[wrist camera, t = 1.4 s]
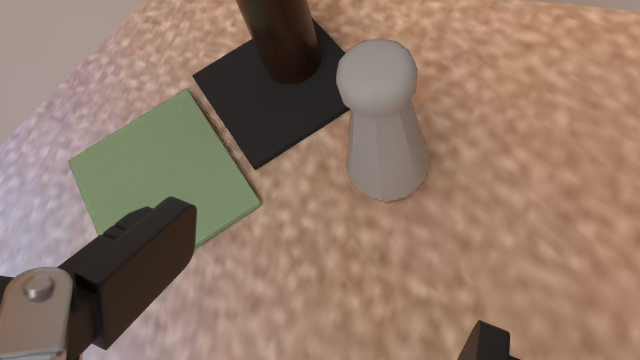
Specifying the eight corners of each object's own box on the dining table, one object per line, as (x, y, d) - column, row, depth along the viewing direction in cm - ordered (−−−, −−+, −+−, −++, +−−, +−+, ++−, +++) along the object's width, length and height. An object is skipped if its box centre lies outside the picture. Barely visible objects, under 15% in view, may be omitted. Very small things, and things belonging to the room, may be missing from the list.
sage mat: (189, 92, 44) (186, 87, 44) (262, 204, 37) (260, 201, 37) (71, 164, 43) (67, 161, 42) (125, 294, 36) (121, 292, 36)
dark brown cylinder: (302, 30, 44) (269, -81, 34) (332, 63, 42) (305, -47, 32) (256, 59, 44) (208, -46, 34) (283, 94, 41) (241, -9, 32)
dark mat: (303, 12, 46) (302, 7, 45) (378, 91, 40) (377, 86, 40) (194, 79, 45) (191, 75, 44) (255, 170, 39) (252, 167, 38)
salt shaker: (335, 178, 37) (296, 66, 26) (388, 131, 38) (373, 3, 27) (389, 228, 35) (373, 128, 23) (445, 176, 36) (456, 55, 24)
